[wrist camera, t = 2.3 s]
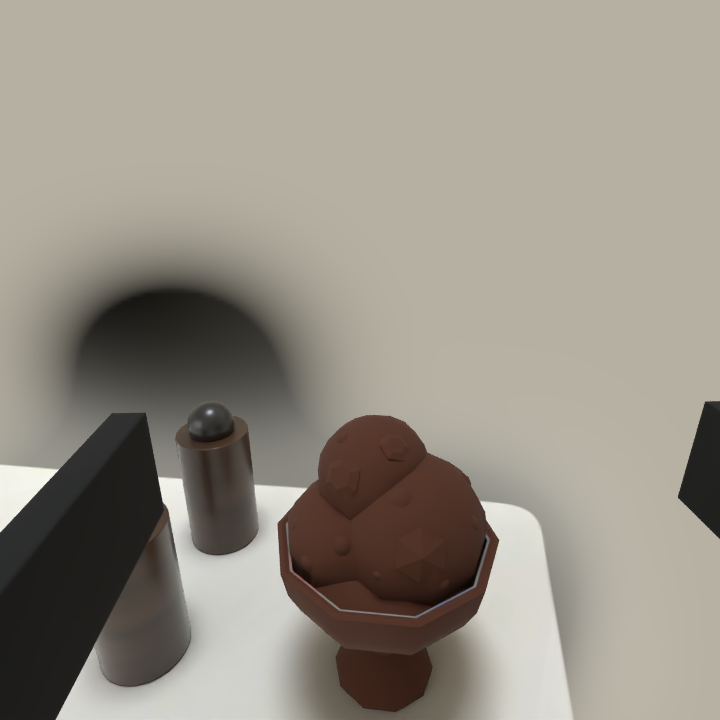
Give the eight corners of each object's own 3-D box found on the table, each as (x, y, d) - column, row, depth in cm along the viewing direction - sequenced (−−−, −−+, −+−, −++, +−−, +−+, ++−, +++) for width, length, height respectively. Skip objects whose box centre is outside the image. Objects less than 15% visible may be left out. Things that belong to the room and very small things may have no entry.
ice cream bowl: (248, 715, 25) (214, 472, 20) (344, 565, 35) (339, 373, 29) (448, 820, 21) (476, 551, 16) (495, 618, 31) (523, 405, 25)
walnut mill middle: (206, 617, 31) (180, 468, 27) (159, 695, 26) (119, 530, 22) (136, 603, 32) (102, 457, 28) (80, 676, 27) (28, 514, 23)
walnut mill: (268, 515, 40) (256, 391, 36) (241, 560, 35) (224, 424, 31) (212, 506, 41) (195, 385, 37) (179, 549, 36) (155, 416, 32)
